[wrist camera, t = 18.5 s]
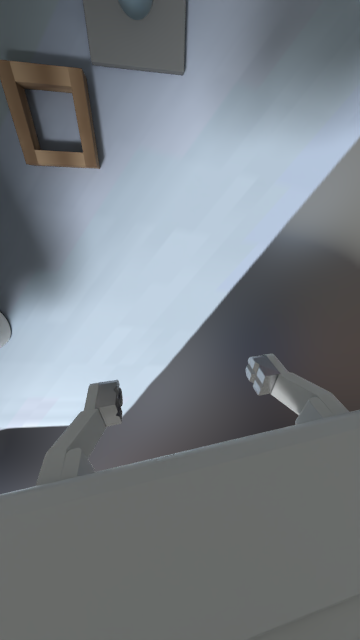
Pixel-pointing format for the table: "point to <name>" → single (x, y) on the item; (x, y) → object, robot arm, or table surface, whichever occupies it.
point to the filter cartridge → (136, 8)
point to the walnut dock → (14, 83)
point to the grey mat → (137, 36)
